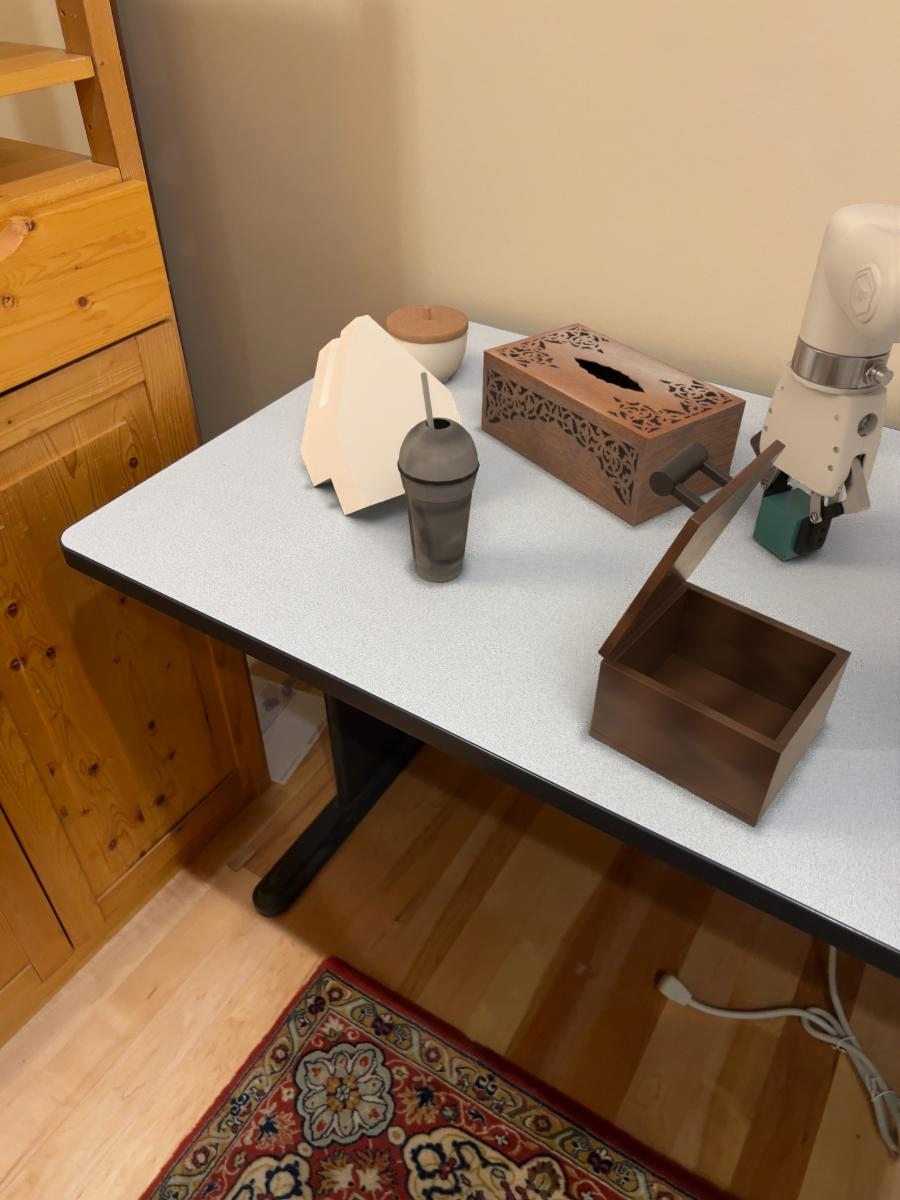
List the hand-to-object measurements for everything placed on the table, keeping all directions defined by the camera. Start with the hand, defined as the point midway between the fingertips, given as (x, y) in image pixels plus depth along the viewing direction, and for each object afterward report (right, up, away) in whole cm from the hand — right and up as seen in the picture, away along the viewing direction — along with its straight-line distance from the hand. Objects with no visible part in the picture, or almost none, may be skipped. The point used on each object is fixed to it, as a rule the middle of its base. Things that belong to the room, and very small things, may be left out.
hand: (788, 534), depth 87 cm
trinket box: (-36, +24, +32) cm, 54 cm away
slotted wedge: (-42, +7, +11) cm, 44 cm away
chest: (-13, -17, -19) cm, 28 cm away
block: (0, -1, +1) cm, 1 cm away
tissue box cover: (-16, +10, +15) cm, 24 cm away
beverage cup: (-35, -4, -2) cm, 35 cm away
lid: (-17, -3, -26) cm, 31 cm away
